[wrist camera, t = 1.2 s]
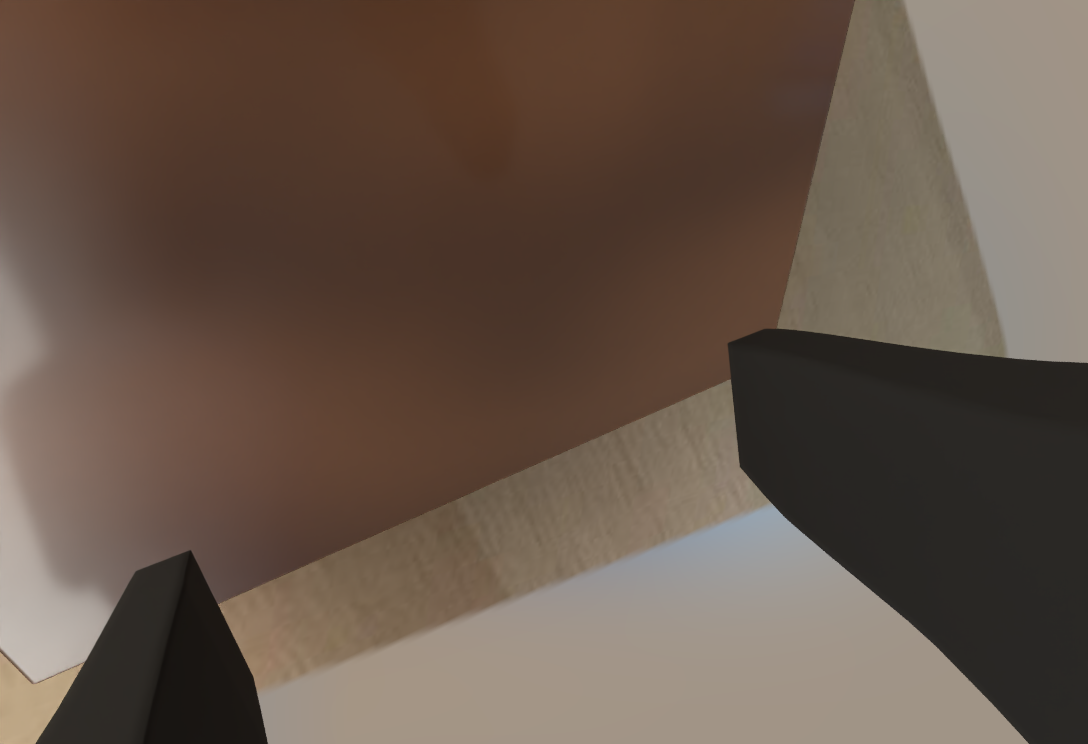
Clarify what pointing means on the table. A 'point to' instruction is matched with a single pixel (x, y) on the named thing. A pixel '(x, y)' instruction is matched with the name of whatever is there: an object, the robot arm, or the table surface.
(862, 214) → the table surface
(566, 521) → the table surface
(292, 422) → the lid
